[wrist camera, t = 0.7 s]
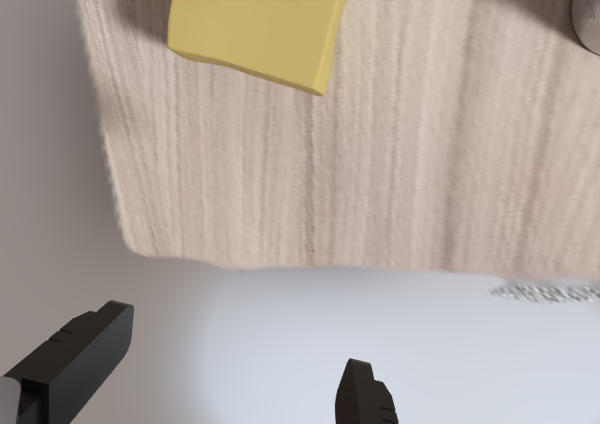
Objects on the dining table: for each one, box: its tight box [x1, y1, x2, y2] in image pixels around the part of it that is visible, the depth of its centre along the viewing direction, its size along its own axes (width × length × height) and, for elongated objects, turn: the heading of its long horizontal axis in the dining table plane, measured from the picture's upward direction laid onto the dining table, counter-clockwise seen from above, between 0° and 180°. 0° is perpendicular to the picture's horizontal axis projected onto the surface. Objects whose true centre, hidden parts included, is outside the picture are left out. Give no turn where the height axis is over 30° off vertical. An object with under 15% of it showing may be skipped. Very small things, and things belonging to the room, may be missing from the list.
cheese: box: [167, 0, 346, 96], centre depth 23 cm, size 10×11×10 cm
